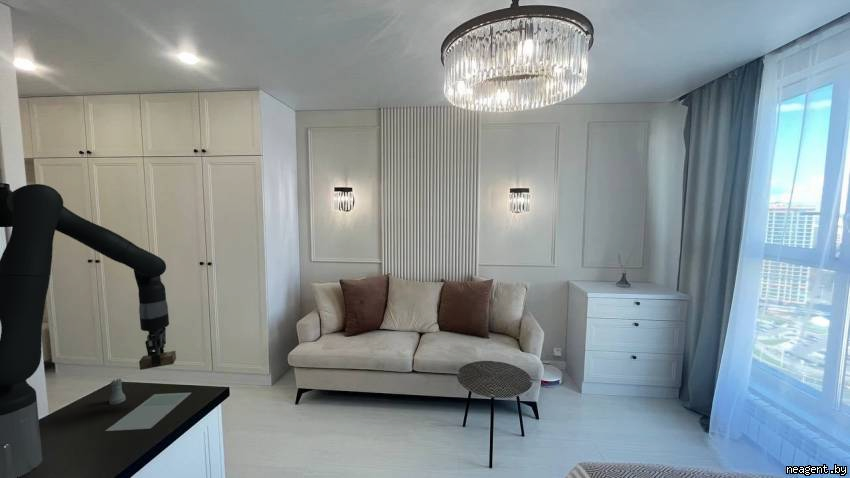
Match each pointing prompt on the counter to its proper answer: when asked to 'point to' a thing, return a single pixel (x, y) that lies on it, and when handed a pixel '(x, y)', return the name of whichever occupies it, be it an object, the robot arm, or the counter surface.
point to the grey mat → (149, 412)
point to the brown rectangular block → (165, 359)
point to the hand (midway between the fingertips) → (158, 362)
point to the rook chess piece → (117, 392)
